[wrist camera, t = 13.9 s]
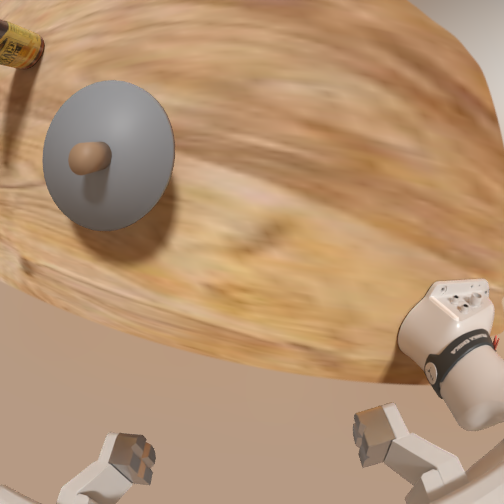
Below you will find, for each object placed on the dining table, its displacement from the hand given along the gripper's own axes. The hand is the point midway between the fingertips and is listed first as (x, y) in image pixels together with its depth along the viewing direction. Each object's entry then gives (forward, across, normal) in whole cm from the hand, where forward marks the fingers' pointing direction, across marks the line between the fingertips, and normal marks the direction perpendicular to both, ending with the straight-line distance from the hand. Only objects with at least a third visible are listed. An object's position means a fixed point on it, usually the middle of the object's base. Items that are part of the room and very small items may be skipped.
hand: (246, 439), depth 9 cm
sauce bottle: (+31, -28, +35) cm, 55 cm away
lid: (+24, -14, +12) cm, 30 cm away
